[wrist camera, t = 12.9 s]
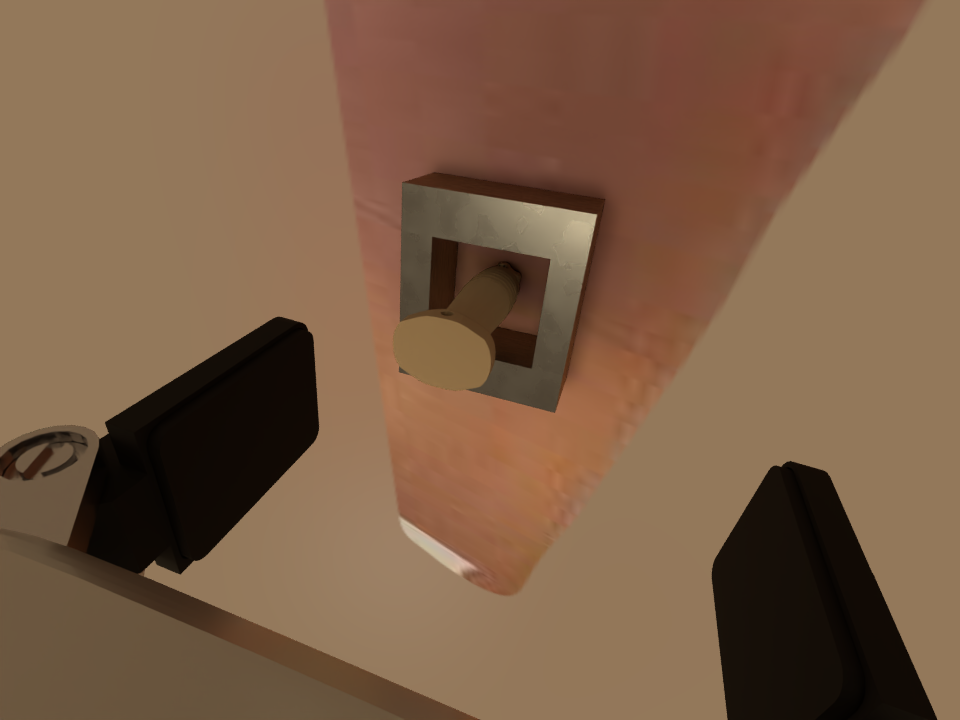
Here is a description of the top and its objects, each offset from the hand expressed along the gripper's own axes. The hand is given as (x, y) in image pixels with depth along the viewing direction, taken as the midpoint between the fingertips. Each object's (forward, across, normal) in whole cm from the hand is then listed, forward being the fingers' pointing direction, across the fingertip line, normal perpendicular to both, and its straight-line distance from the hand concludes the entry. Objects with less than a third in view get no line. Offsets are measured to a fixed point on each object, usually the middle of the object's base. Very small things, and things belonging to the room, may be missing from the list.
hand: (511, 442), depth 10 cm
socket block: (+31, +7, +10) cm, 34 cm away
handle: (+32, +7, +10) cm, 34 cm away
